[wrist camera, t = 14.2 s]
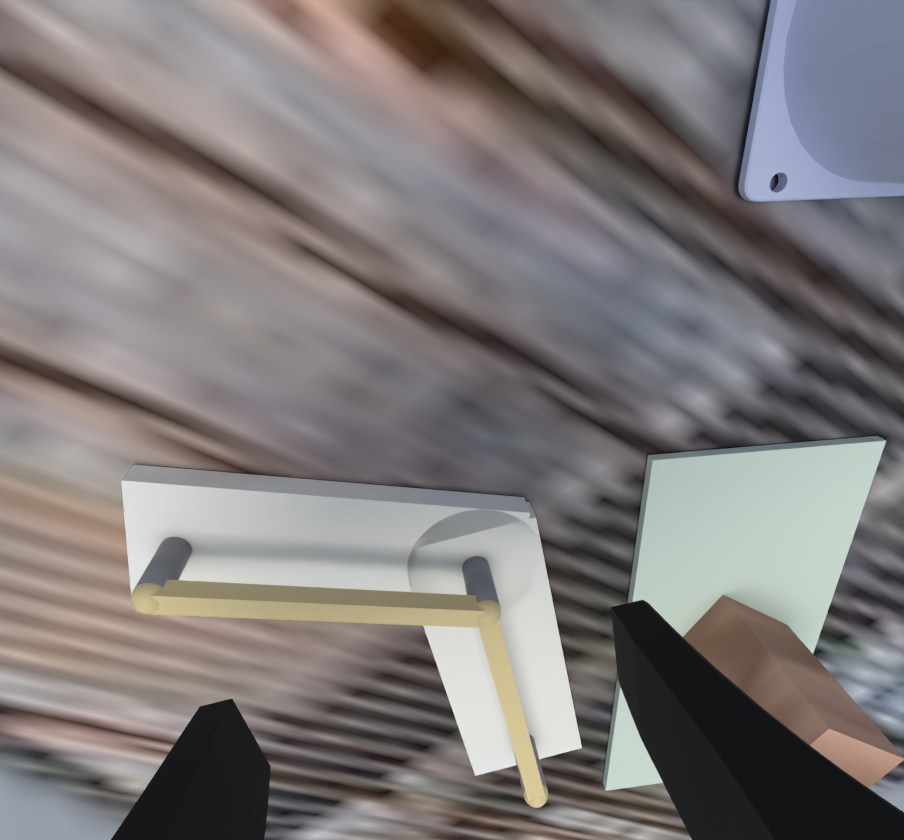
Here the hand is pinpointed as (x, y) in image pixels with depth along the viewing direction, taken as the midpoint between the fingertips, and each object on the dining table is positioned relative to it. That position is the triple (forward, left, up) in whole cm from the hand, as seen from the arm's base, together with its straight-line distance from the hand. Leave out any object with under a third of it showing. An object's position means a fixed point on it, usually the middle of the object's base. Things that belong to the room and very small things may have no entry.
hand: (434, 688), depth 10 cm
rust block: (-13, +10, -9) cm, 19 cm away
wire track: (+2, +8, -9) cm, 12 cm away
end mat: (-13, +10, -9) cm, 19 cm away
